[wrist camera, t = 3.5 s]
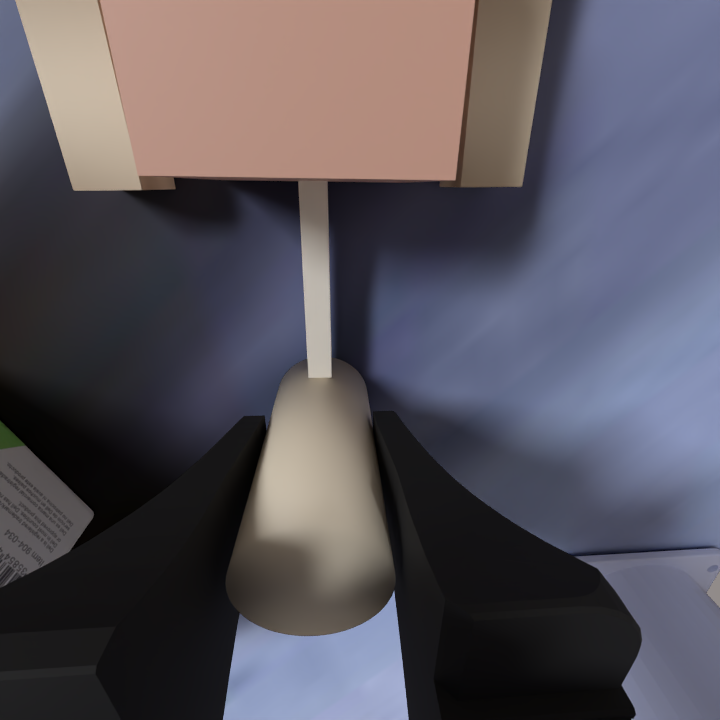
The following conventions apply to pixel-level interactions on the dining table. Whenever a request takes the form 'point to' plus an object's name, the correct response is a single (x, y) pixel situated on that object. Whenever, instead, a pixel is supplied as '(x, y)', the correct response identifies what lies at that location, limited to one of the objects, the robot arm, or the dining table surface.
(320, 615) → the pink handled block
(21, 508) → the ink box
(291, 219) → the dining table surface
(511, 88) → the shelf
